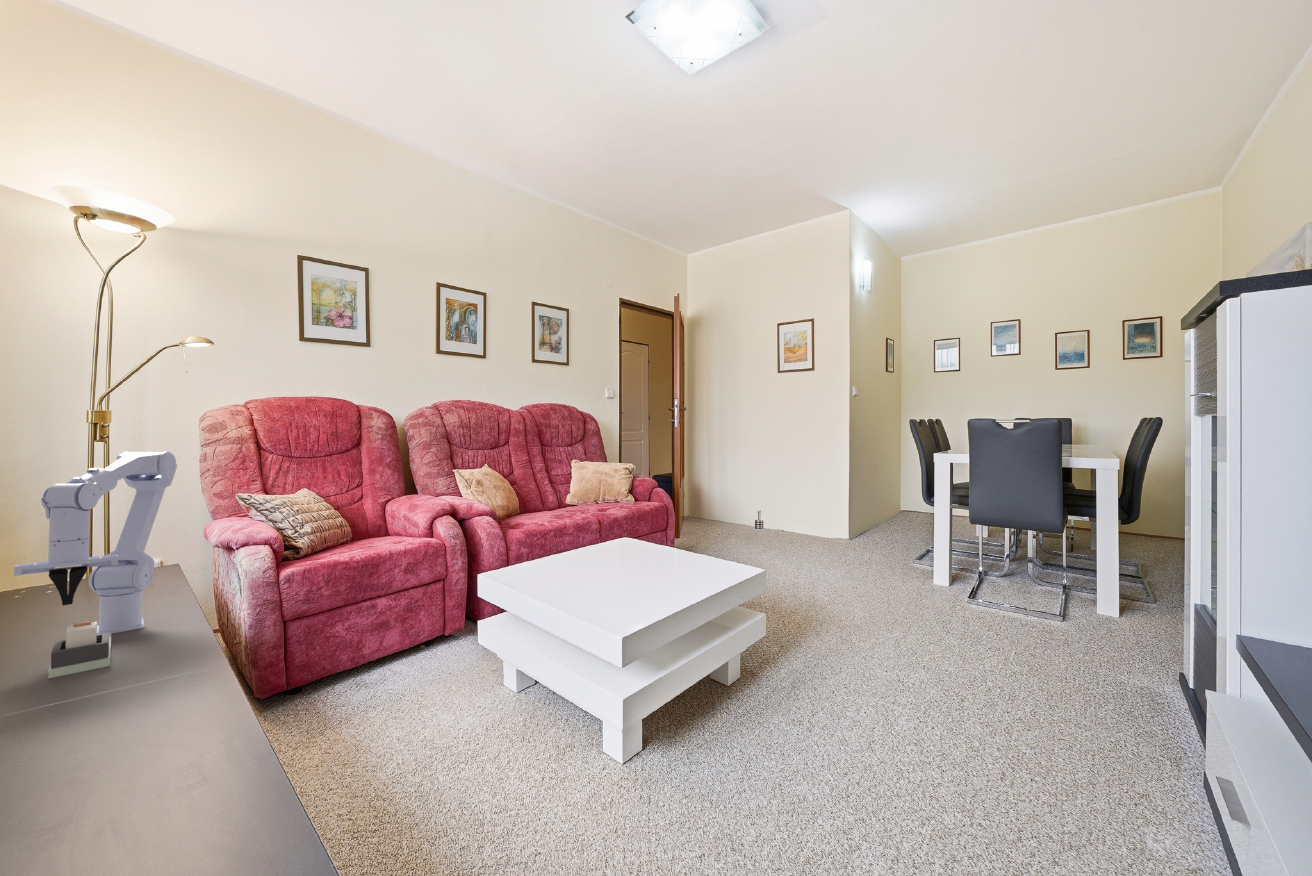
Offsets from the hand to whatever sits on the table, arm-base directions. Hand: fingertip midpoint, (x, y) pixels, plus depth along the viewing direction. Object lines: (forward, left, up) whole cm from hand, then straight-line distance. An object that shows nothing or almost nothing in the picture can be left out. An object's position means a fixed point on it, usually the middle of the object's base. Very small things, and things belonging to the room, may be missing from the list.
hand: (67, 603), depth 110 cm
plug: (+11, +3, -9) cm, 14 cm away
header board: (+6, +3, -10) cm, 12 cm away
